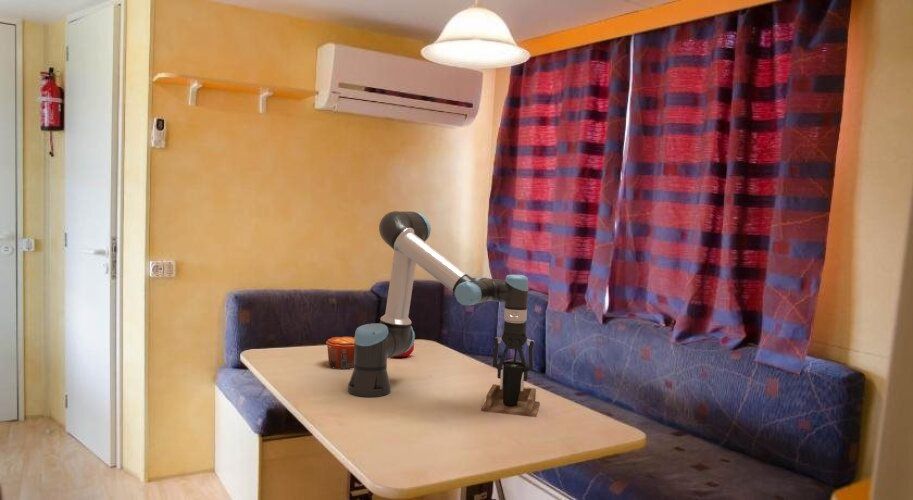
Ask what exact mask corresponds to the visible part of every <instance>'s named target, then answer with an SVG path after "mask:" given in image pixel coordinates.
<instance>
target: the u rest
mask: <svg viewBox="0 0 913 500" xmlns="http://www.w3.org/2000/svg"><path fill="white" fill-rule="evenodd" d="M536 393H537V388H536V387H534V388H533V387H525V386H524V389H523V391H521V388H520V393H519V398H518V403H517V405H506V404H504V403H503V389H500V384H496V383H494V384H492V386H491V387H490V389H489V391H488V392H487V394H486V399H485V401H484V403H483V404H482V406H481V409H480V410H481V411H480V412H486V413H487V412H488V413H497V414H508V415H515V416H517V415H518V416H523V417H524V416H525V417H526V416H527V417H537V414H538V411H539V408H540V404H541V403H540V401H538V400H536V397H537V396H536V395H537V394H536Z"/></svg>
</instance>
